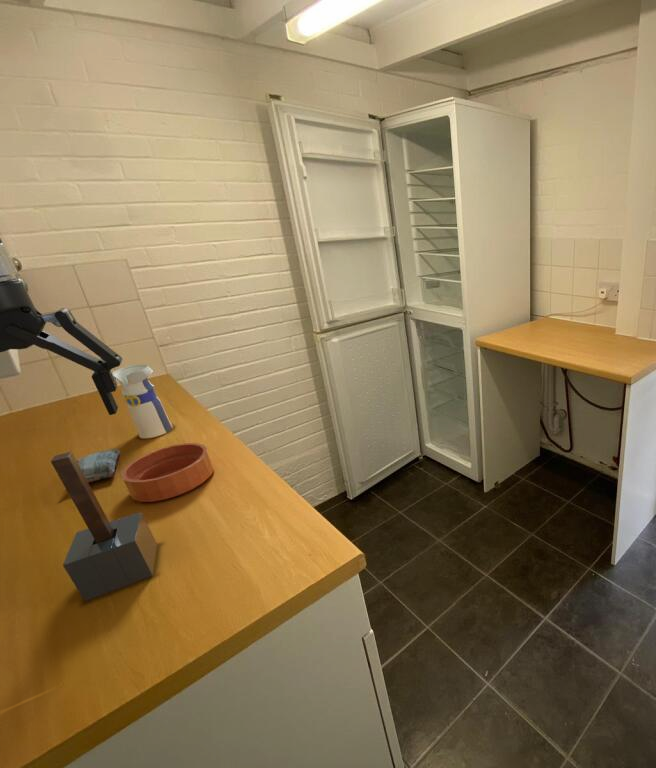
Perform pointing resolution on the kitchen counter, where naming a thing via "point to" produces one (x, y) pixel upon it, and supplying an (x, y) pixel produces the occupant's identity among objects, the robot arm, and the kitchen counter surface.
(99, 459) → the packaged food
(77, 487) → the wooden stick
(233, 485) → the kitchen counter surface
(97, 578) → the stick holder
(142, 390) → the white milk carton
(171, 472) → the bowl
